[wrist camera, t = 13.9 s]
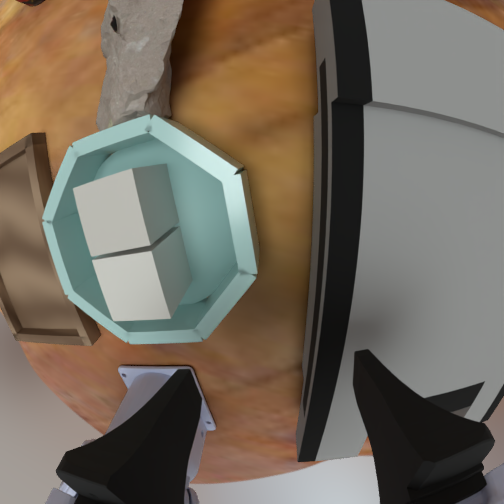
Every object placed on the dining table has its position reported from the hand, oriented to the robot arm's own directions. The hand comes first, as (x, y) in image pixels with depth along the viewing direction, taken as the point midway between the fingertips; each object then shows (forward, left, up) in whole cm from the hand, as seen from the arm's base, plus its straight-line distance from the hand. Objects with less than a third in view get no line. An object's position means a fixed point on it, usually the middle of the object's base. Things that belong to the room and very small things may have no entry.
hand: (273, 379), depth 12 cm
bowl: (+6, +8, -10) cm, 14 cm away
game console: (0, -13, -10) cm, 17 cm away
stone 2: (+3, +8, -9) cm, 12 cm away
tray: (+6, +23, -10) cm, 26 cm away
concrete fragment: (+19, +6, -10) cm, 22 cm away
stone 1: (+8, +8, -9) cm, 14 cm away
